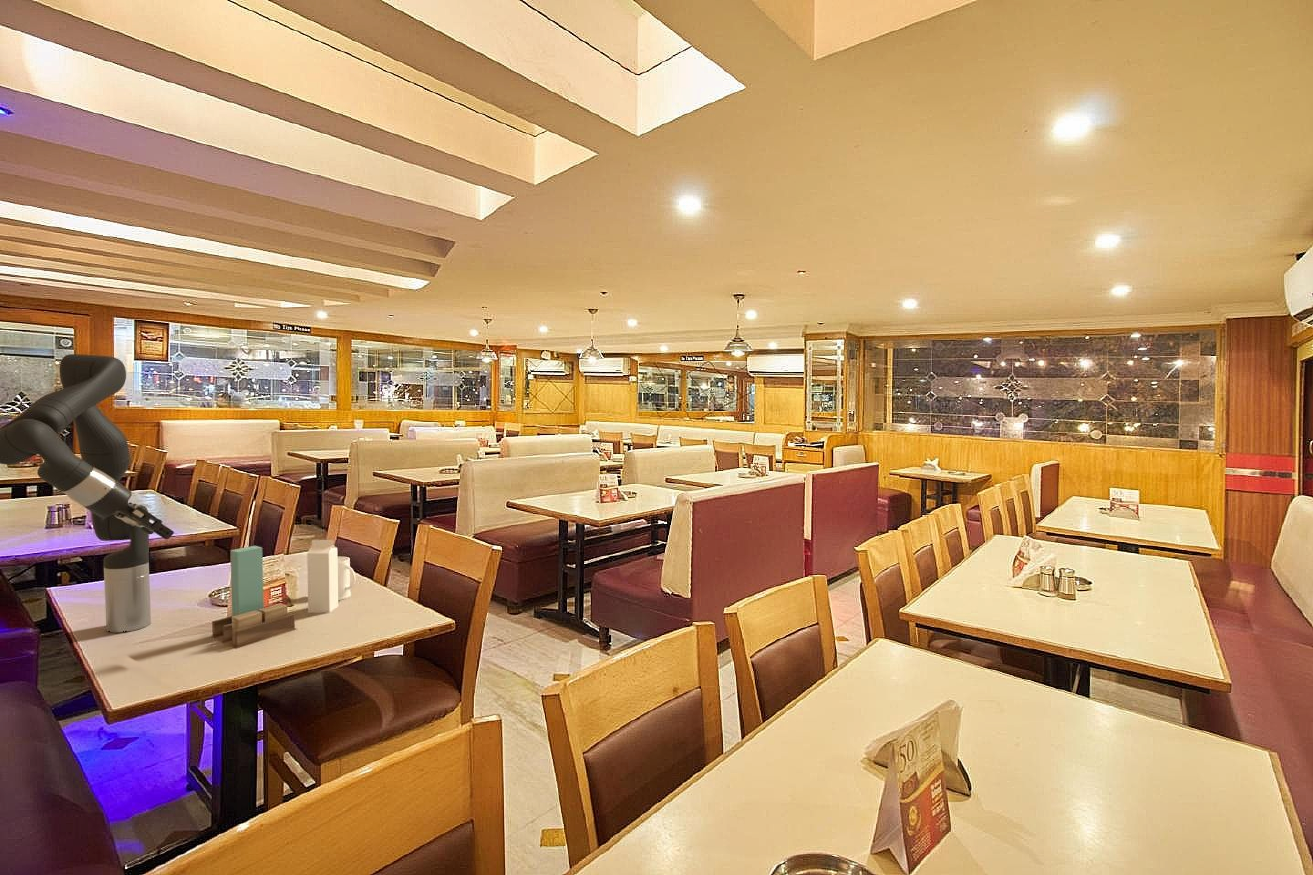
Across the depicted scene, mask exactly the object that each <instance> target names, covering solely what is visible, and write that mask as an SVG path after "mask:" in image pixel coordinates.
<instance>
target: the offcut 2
mask: <svg viewBox="0 0 1313 875" xmlns="http://www.w3.org/2000/svg"><path fill="white" fill-rule="evenodd" d="M269 606H270V607H266V606H265V607H266V608H262V609H259V612H261V613H262V623H263V622H267V621H270V620H273V619H277V618H280V617H284V616H287V615H288V605H287V604H283V603H277V604H273V605H269Z"/></svg>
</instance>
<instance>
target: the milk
mask: <svg viewBox="0 0 1313 875" xmlns="http://www.w3.org/2000/svg"><path fill="white" fill-rule="evenodd" d="M338 557H339V556H338V547H336V546H335V545H334V540H333V539H312V540H311V545H310V547H309V549H308V552H307V553H306V560H307V562H306V565H307V568H306V569H307V570H306V571H307V609H308V610H307V611H308V612H307V613H309V614H310V613H311V614H315V613H318V614H321V613H324V614H325V613H331V612H332V611H334V610H335V609H336V608H339V601H338Z"/></svg>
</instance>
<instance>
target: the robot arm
mask: <svg viewBox="0 0 1313 875" xmlns="http://www.w3.org/2000/svg"><path fill="white" fill-rule="evenodd" d="M59 378H60V382H61V386H62V388H61V389H59V390H54V391H53V392H50V393H48V394H45V395H44V396H42V397H40V398H38V399H37V400H35V401H34V402H33V403H32V404H31V405H29V406H28V407H27V408H26V409H25V410H24V411H23V412H22V413H21V414H19V415H18V416H17V417H15V418H14V419H12V420H10V421H8V423H5V424H4V425H2V426H1V427H0V464H1V465H7V466H8V465H10V466H11V465H17V464H21V463H23V462H25V461H27V460H29V459H31V458H33V457H34V456H37V455H38V456H40V457H41V458H42V460H43V463H41V465H40V466H39V468H38V469H37V473H36V474H37V476H38V477H39V478H40V479H41V480H42V481H44V482H46V483H47V484H49V485H51V486H52V487H54V488H55V489H57V490H58V491H61V493H64V494H65V496H66V497H68V498H69V499H71V500H72V501H73V502H75V503H77V504H79V506H82V507H84V508H85V509H87V510H88V511H90V512H91V518H92V525H93V530H94V533H95V536H96V537H97V539H99V540H100V541H103V542H109V541H111V542H114V541H130V543H129V545H128V546H127V547H125V548H123V549H120V550H117V551H115V552H112V553H109V554H107V555H105V556H104V557H103V579H104V580H103V582H104V600H105V603H104V604H105V605H104V606H105V607H104V608H105V624H106V625H105V628H106V629H105V630H106V632H108V631H110V632H109V633H126V632H125V631H127V632H132V631H136V630H140V629H143V628H146V627H147V626H149V625H150V624H151V623H152V615H151V614H152V613H151V612H152V611H151V590H150V589H151V587H150V586H151V585H150V563H149V561H150V560H149V557H150V556H149V552H150V551H149V550H150V540H149V539H150V535H153V534H155V535H158V536H159V537H161V538H163V539H164V540H169V539H170V538H171V537H172V536H173V535H174V534H175V531H174V530H172V529H171V528H169V527H168V526H166V525H164V524H163V520H161V519H159V518H157V517H156V516H155V515H153V514H152V513H151V512H149V510H148V508H147V507H146V506H145V505H143V504H137V503H133V502H131V501H130V502H129V500H130V499H131V498H132V491H131V489H129V488H127V487H126V486H124V485H123V484H122V483H120V481H121V479H123V476H125V474H126V472H127V470H128V469H129V468H130V465H131V462H132V461H131V454H130V448H129V441H128V439H127V436H126V435H125V434H124V432H123V431H122V430H121V429H120V428H119V427H118V426H117V425H116V424H115V423H114V422H113V421H112V420H111V419H110V418H108V417H107V416H106V415H105V414H104V413H103V412H102V411H101V409H100V408H99V407H98V404H99V403H101V402H103V401H105V400H106V399H108V398H109V397H112V396H114V395H115V394H117V393H118V392H119V391H121V390H122V388H123V387H124V386H125V383H126V381H127V370H126V367H125V365H124V362H122V360H120V359H119V358H117V357H113V356H107V355H98V354H97V355H96V354H95V355H93V354H78V353H76V354H75V353H71V354H66V355H64V356H63V357H62V358H61V360H60V363H59ZM72 422H73V424H74V428H75V431H76V436H77V442H78V447H79V453H80V457H79V456H77V455H76V454H75V453H74V452H73V451H72V449H70V447H69V446H68V445H67V444H66V443H65V441H63V440H62V438H61V437H60V436H59V434H60V433H61V432H63V430H65V428H67V427H68V426H69V425H70V424H71V423H72ZM151 521H153V523H152V522H151ZM123 631H124V632H123Z"/></svg>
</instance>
